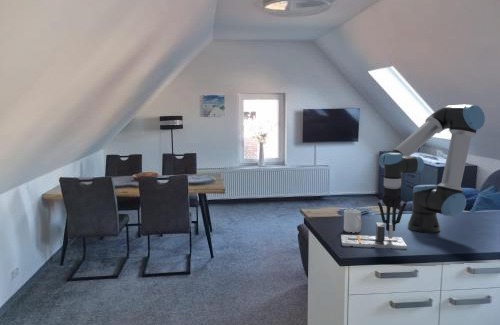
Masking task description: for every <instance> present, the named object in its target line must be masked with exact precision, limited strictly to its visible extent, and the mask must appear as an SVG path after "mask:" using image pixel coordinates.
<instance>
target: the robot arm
mask: <svg viewBox="0 0 500 325" xmlns="http://www.w3.org/2000/svg"><path fill="white" fill-rule="evenodd" d="M485 119H486V117H485V112H484V111H483V108H481V107H480V106H479V105H476V104H468V103H467V104H449V105H446V106H445V105H444V106H443V107H441V108H439V109H438V110H436V111H434V112H433V113H432V114H430V115H429V116H428V117H426V119H425V121H424V123H423V124H422V125H421V126H419V127H418V128H417V129H416V130H415V131H413V132H412V133H411V134H410V135H409V136H407V137H406V139H404V140H403V141H402V142H401V143H400V144H399V145H397V146H396V147H395V148H393V150H391V151H390V152H387V153H382V154H381V155H380V156H379V158H378V165H379V166H380V168H383V187H382V188H383V191H382V192H383V193H382V198H381V199H380V200H378V201H376V204H377V205H378V207H379V212H380V217H381V221H382V223H383V224H385V230H386V231H387V232H388V233H387V237H388V238H389V239H392V237H393V234H394V233H393V232H395V231H396V225H397V224H400V223H401V219H402V215H403V213H404V210H405V208H406V206H407V203H406V202H405V201H403V200H402V198H401V195H402V189H401V187H402V175H403V174H416V173H420V172H422V171H423V170H424V167H425V161H424V159H423V158H422V157H421V156H414V155H413V154H414V153H415V152H416V151H417V150H419V148H421V147H422V146H423V145H424V144H426V143H427V142H428V141H429V140H430V139H431V138H432V137H434V136H435V135H436V134H440V133H441V132H443V131H445V130H448V131H449V132H450V134H451V137H450V140H449V141H450V143H449V146H448V151H447V156H446V160H445V164H444V168H443V172H442V178H441V182H439V183H438V184H418V185H415V186H413V190H412V206H411V207H412V209H411V210H412V212H411V215H410V218H409V221H408V223H407V228H408V229H409V230H411V231H414V232H419V233H426V234H427V233H437V232H439V231H440V229H441V228H440V223H439V219H438V216H437V214H440V215H443V216H447V217H453V218H454V217H457V216H459V215H460V214H462V213H463V212H464V210H465V208H466V205H467V198H466V196H465V195H464V190H463V188H462V181H463V176H464V173H465V169H466V168H465V167H466V163H467V159H468V156H469V149H470V146H471V140H472V138H473V137H474V136H476V134H477V130H480V129H482V127H484V125H485V122H486V120H485ZM412 155H413V156H412ZM383 205H385V207H386V213H385V212H384V208H383ZM399 205H400V207H399V209H398V213H397V207H398V206H399ZM391 209H392V210H391ZM391 211H392V212H391ZM385 215H386V217H385ZM391 215H392V216H391ZM390 220H391V221H390Z"/></svg>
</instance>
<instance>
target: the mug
mask: <svg viewBox="0 0 500 325" xmlns="http://www.w3.org/2000/svg"><path fill="white" fill-rule="evenodd" d="M361 213H362V212H361V210H359V209H351V208H350V209H349V208H348V209H344V211H343V231H344V232H346V233H350V232H352V234H356V233H355V232H357V233H360V232H361V228H362V224H363V223H362V218H361V217H362V214H361Z"/></svg>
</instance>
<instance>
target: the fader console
mask: <svg viewBox="0 0 500 325" xmlns="http://www.w3.org/2000/svg"><path fill="white" fill-rule="evenodd" d="M340 241H341V242H340V243H341V246H342V247H350V246H353V247H354V248H357V247H358V248H371V247H375V248H374V249H391V248H392V250H394V249H396V250H407V249H408V245H407V244H406V243H405V240H404V239H403V238H402V237H401V236H399V237H398V236H392V239H389V238H388V236H384V241H377V239H376V235H359V234H354V235H353V234H340ZM353 247H352V248H353Z"/></svg>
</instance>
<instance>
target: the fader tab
mask: <svg viewBox="0 0 500 325" xmlns="http://www.w3.org/2000/svg"><path fill="white" fill-rule="evenodd" d="M385 230H386V224H385V223H383V222H378V221H377V222H376V223H375V236H376V239H377V241H384V237H385V235H386V232H385Z"/></svg>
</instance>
